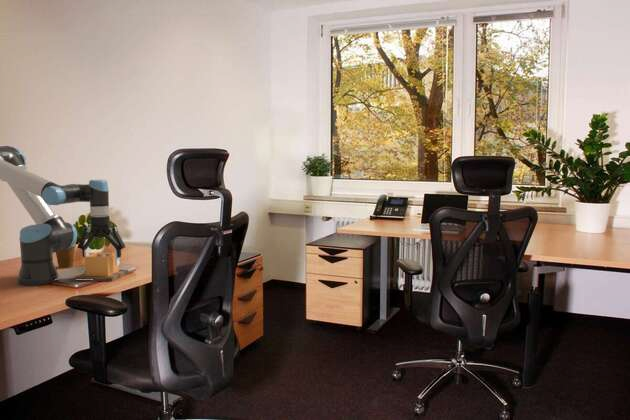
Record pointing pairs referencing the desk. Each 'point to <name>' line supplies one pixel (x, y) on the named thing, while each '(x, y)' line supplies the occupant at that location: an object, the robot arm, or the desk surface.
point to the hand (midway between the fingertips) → (102, 264)
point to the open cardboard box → (100, 265)
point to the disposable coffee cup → (66, 257)
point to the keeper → (104, 278)
